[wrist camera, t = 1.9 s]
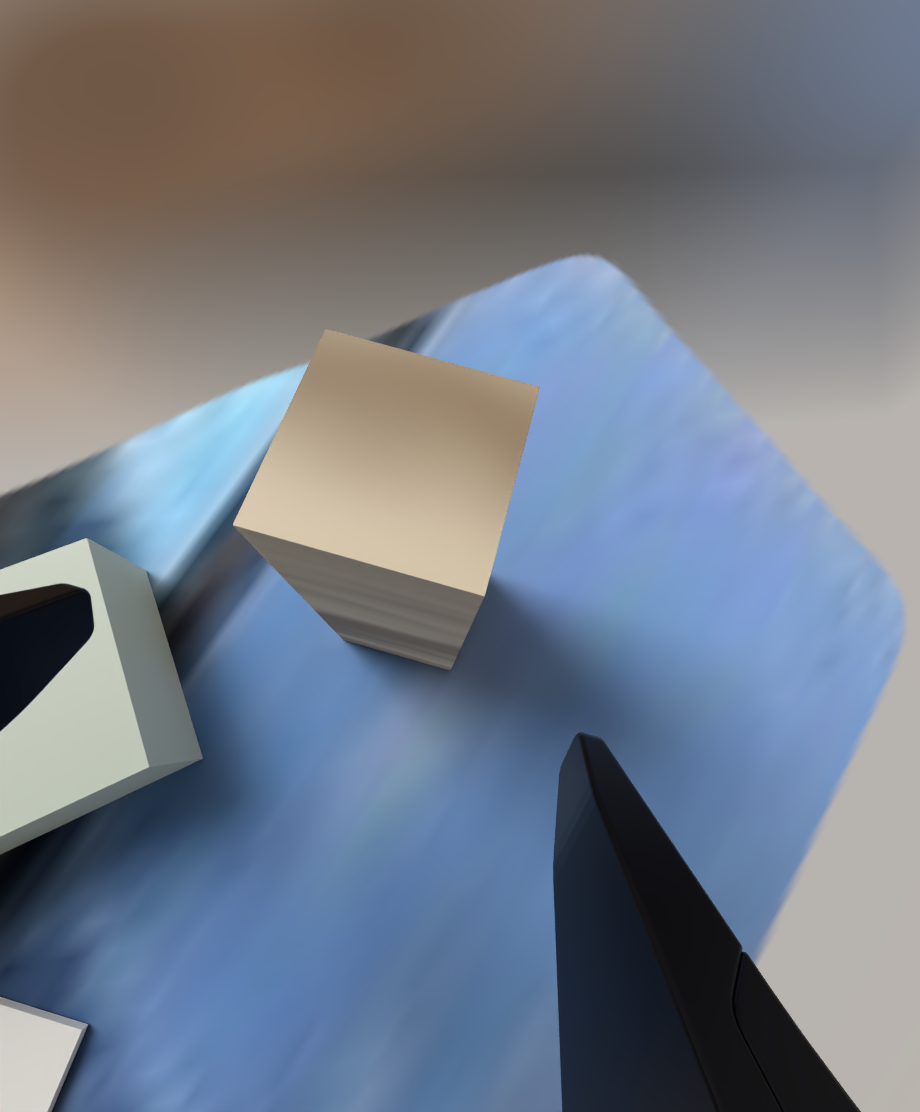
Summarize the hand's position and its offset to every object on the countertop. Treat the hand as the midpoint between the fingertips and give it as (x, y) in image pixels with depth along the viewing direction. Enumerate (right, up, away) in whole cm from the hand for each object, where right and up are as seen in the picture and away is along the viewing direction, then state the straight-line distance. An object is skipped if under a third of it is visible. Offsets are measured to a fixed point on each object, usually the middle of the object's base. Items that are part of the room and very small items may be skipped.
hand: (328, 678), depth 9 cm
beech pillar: (0, 0, +12) cm, 12 cm away
